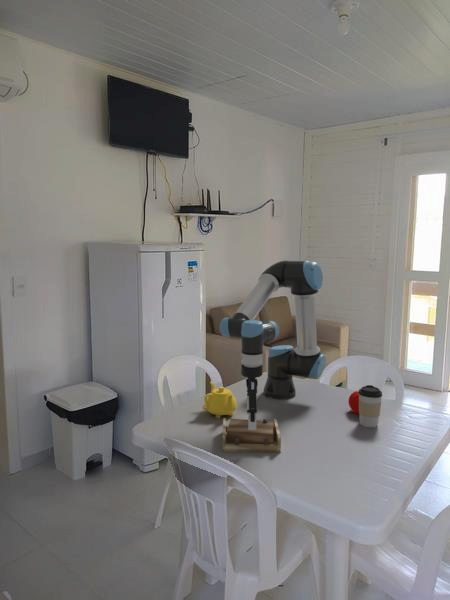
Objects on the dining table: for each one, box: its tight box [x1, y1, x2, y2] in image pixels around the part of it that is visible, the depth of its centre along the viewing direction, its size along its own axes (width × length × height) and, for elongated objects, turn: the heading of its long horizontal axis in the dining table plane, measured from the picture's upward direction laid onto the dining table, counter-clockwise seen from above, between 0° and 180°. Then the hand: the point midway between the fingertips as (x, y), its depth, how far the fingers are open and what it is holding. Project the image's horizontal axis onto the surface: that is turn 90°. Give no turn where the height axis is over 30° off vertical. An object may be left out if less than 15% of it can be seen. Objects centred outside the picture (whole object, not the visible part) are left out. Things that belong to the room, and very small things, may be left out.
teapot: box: [202, 380, 238, 419], centre depth 187 cm, size 20×15×12 cm
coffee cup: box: [358, 384, 383, 428], centre depth 178 cm, size 9×9×15 cm
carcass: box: [221, 417, 282, 454], centre depth 162 cm, size 16×20×6 cm
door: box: [227, 418, 274, 444], centre depth 162 cm, size 11×16×6 cm
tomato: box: [347, 390, 359, 416], centre depth 191 cm, size 11×12×9 cm
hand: (251, 421), depth 162 cm, fingers open, 13 cm apart
